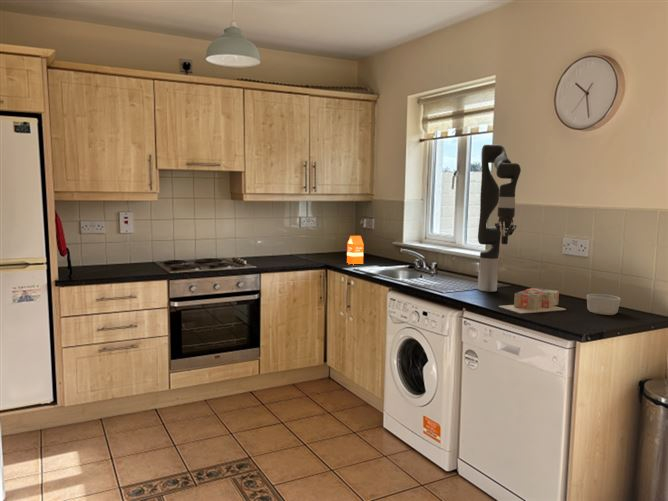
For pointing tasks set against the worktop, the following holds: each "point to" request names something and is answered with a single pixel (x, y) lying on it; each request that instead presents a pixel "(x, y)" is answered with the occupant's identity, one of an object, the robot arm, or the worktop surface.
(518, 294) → the stack of blocks
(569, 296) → the worktop surface
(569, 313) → the worktop surface
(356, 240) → the orange juice
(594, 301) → the ramekin
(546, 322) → the worktop surface
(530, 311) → the mat
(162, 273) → the worktop surface
